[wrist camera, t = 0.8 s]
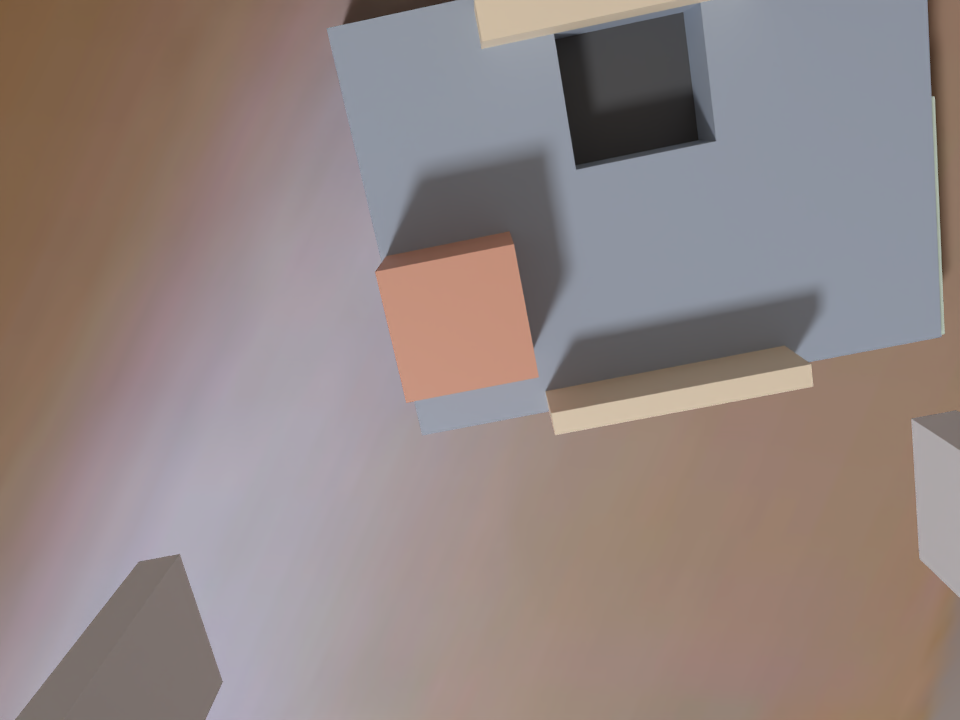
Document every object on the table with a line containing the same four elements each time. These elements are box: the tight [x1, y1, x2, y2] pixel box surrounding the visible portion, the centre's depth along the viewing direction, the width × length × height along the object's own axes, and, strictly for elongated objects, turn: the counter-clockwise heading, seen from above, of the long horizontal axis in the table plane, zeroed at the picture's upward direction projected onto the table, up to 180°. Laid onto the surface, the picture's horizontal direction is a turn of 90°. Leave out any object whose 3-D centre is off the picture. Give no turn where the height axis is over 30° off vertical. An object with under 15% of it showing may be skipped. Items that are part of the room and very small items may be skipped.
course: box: [327, 0, 945, 435], centre depth 35 cm, size 18×24×6 cm
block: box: [375, 231, 539, 403], centre depth 34 cm, size 6×6×4 cm
